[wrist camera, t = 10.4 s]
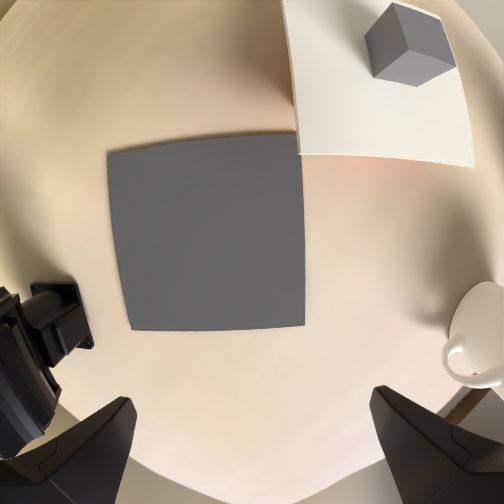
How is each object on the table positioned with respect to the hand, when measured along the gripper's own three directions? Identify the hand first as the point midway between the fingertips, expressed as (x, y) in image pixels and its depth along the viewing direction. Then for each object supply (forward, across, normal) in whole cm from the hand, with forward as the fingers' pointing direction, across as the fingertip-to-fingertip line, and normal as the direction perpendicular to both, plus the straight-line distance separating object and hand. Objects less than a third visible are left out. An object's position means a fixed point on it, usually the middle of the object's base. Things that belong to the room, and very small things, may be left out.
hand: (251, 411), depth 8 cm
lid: (+7, -9, -15) cm, 19 cm away
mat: (+12, +3, -4) cm, 13 cm away
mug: (+12, -22, +6) cm, 26 cm away
